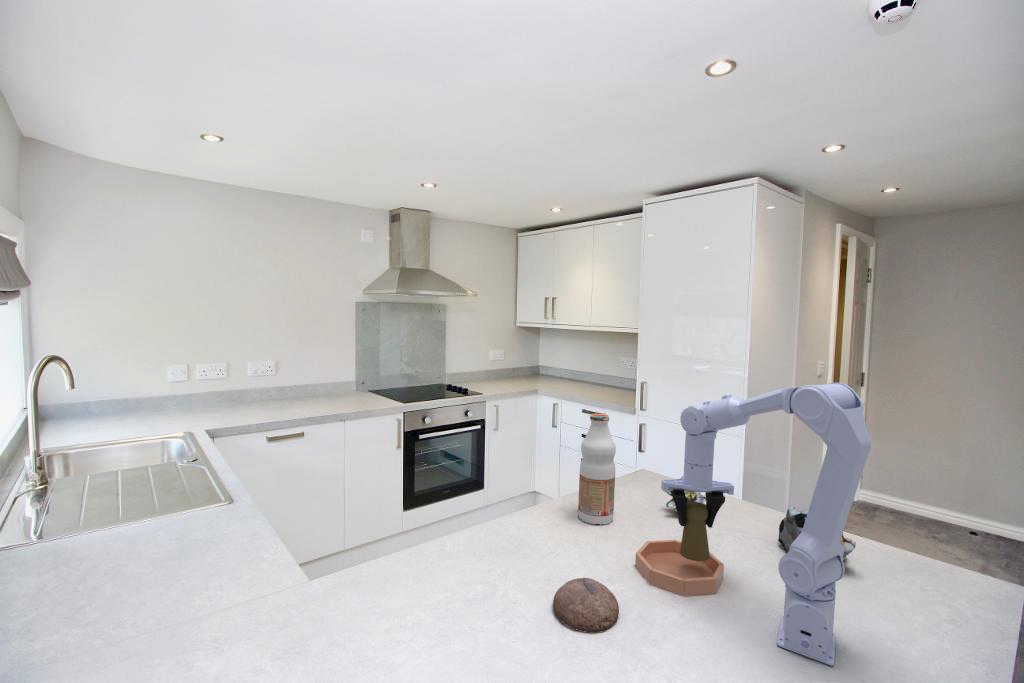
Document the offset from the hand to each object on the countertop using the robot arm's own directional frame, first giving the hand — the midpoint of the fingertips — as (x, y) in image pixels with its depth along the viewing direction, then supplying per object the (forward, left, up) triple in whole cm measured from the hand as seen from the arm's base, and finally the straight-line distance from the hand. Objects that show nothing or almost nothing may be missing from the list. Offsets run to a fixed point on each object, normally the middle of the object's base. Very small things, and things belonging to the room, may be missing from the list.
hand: (695, 525), depth 102 cm
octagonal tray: (-2, +2, -10) cm, 11 cm away
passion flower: (+31, +10, -11) cm, 35 cm away
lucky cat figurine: (+25, -21, -11) cm, 35 cm away
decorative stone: (-26, +12, -11) cm, 31 cm away
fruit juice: (+12, +28, -11) cm, 33 cm away
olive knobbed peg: (0, 0, -7) cm, 7 cm away
